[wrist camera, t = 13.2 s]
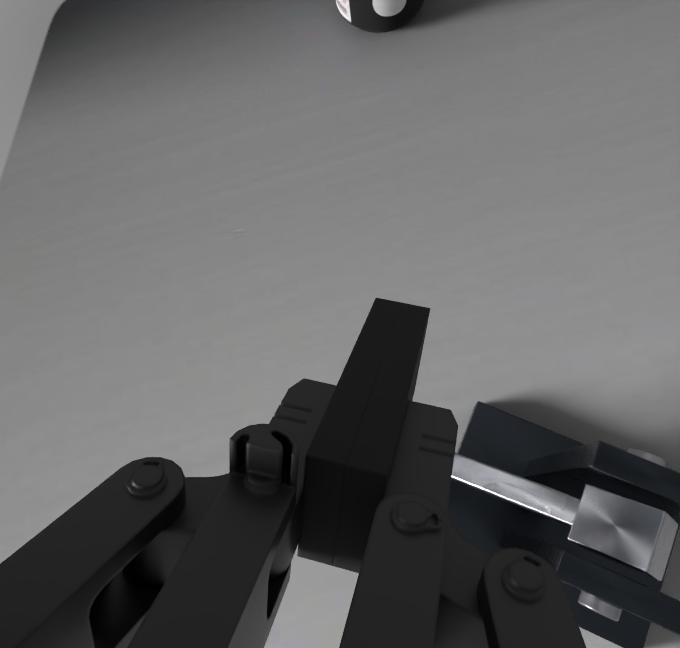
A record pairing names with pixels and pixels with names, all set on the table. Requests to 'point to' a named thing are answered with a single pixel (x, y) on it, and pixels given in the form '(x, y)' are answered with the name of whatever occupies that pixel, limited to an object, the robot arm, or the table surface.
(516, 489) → the lever
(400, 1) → the beverage can
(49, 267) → the table surface
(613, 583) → the bracket
